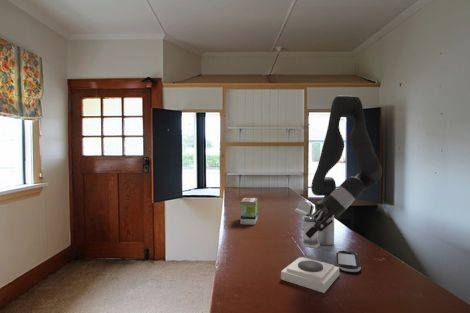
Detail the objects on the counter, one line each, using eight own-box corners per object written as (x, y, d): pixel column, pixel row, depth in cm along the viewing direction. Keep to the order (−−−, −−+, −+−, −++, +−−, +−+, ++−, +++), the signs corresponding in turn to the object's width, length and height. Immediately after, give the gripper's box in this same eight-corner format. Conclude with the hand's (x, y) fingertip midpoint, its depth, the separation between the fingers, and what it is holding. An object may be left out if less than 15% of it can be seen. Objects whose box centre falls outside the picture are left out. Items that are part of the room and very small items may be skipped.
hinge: (294, 211, 209) (298, 198, 210) (299, 212, 210) (303, 200, 211) (305, 216, 193) (310, 202, 194) (311, 218, 194) (315, 204, 195)
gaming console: (361, 276, 103) (361, 269, 103) (336, 272, 106) (336, 265, 106) (357, 256, 121) (357, 251, 121) (336, 254, 124) (336, 248, 124)
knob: (306, 240, 106) (305, 215, 105) (322, 244, 102) (322, 217, 102) (298, 245, 101) (298, 218, 100) (315, 249, 97) (315, 221, 96)
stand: (299, 264, 113) (299, 253, 113) (339, 275, 103) (339, 263, 103) (281, 279, 100) (280, 267, 100) (324, 293, 90) (324, 279, 90)
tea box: (255, 225, 172) (255, 201, 172) (240, 224, 174) (239, 201, 173) (257, 219, 187) (257, 197, 187) (243, 218, 189) (242, 197, 188)
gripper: (325, 191, 108) (294, 221, 108) (337, 197, 93) (302, 232, 94) (339, 204, 107) (308, 234, 108) (353, 212, 93) (317, 247, 94)
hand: (305, 233), depth 101 cm, fingers closed on knob, 5 cm apart
